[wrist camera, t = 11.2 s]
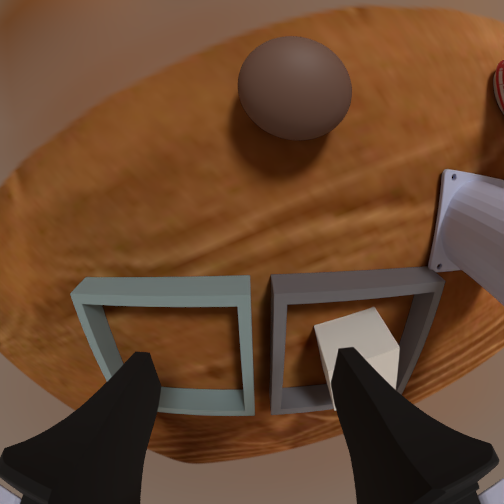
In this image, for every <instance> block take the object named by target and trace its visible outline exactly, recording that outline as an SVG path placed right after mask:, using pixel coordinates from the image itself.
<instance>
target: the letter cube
mask: <svg viewBox="0 0 504 504" xmlns="http://www.w3.org/2000/svg"><path fill="white" fill-rule="evenodd" d="M314 329H315V333H316V338H317V343H318V348H319V353H320V357H321V362H322V367H323V371H324V374H325V378H326V381H327V385H328V389H329V392H330V396H331V399H332V403H333V407H334V411H335V410H336V408H335V404H334V399H333V394H332V388H331V380H332V375H333V371H334V367H335V362H336V358H337V353H338V349H339V348H347V347H354V348H355V349H356V350H357V351H358V352H359V353H360V354H361V355H362V356H363V357H364V358H365V360H366V361H367V362H368V363H369V364H370V365H371V366H372V367H373V368H374V369H375V370H376V371H377V372H378V373H379V374H380V375H381V376H382V377H383V378H384V379H385V380H386V381H387V382H388V383H389V384H390V385H391V386H392V387H393V388H394V389H395V390H396V382H397V373H398V362H399V349H400V347H399V345H398V344H397V342H396V340H395V339H394V337H393V336H392V334H391V332H390V331H389V329H388V328H387V326H386V324H385V323H384V321H383V320H382V318H381V317H380V315H379V313H378V312H377V310H376V309H375V307H372V308H369V309H366V310H363V311H360V312H357V313H354V314H351V315H348V316H344V317H341V318H338V319H335V320H331V321H328V322H324V323H321V324H318V325H314Z"/></svg>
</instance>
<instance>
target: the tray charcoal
mask: <svg viewBox="0 0 504 504" xmlns="http://www.w3.org/2000/svg"><path fill="white" fill-rule="evenodd" d="M444 284H445V280H444V279H443V278H442V277H440V276H439V275H438V274H437V273H436V272H435V271H434V270H430V269H429V268H428V266H425V267H411V268H396V269H379V270H362V271H343V272H323V273H300V274H274V275H271V332H270V387H269V396H270V409H271V415H277V414H291V413H302V412H312V411H320V410H328V409H334V407H333V403H332V399H331V396H330V392H329V389H328V385H327V384H322V385H313V386H302V387H290V388H282V385H283V370H284V355H285V337H286V318H287V305H290V304H308V303H324V302H338V301H351V300H363V299H374V298H384V297H394V296H403V295H412V294H414V298H413V301H412V305H411V309H410V312H409V315H408V319H407V322H406V325H405V328H404V331H403V334H402V337H401V340H400V343H399V347H400V349H399V362H398V373H397V382H396V391H398V392H399V393H400V394H401V395H402V393H403V391H404V389H405V386H406V384H407V382H408V380H409V378H410V376H411V374H412V372H413V369H414V367H415V365H416V363H417V360H418V358H419V356H420V353H421V351H422V349H423V346H424V344H425V341H426V338H427V336H428V333H429V331H430V328H431V325H432V322H433V319H434V316H435V314H436V311H437V307H438V304H439V301H440V298H441V295H442V291H443V288H444Z"/></svg>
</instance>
